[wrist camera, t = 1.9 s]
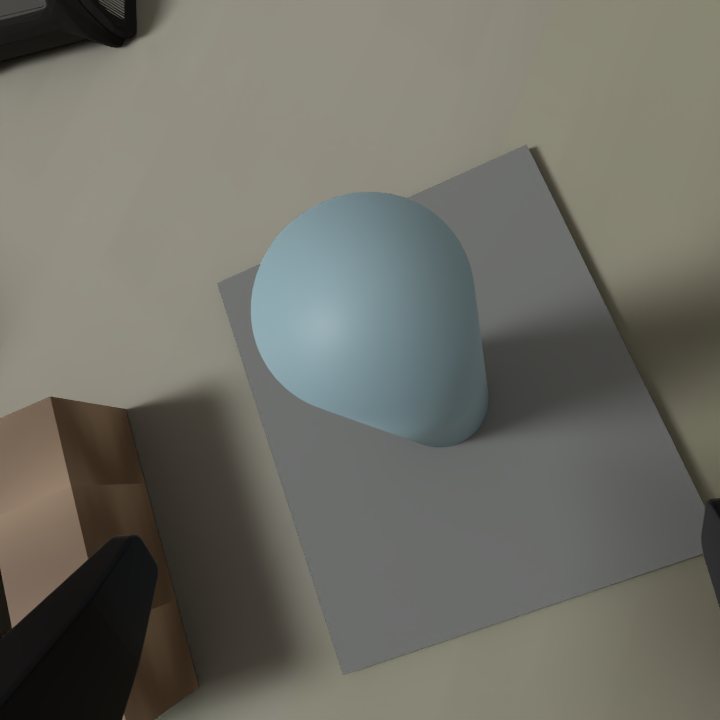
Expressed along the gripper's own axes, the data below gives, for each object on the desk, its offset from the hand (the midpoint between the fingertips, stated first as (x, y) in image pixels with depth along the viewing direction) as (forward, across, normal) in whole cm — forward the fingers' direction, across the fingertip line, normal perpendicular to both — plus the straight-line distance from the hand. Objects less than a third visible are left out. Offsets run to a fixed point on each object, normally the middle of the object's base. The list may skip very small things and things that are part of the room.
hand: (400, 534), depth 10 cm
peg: (+10, 0, +5) cm, 11 cm away
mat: (+10, 0, +5) cm, 11 cm away
